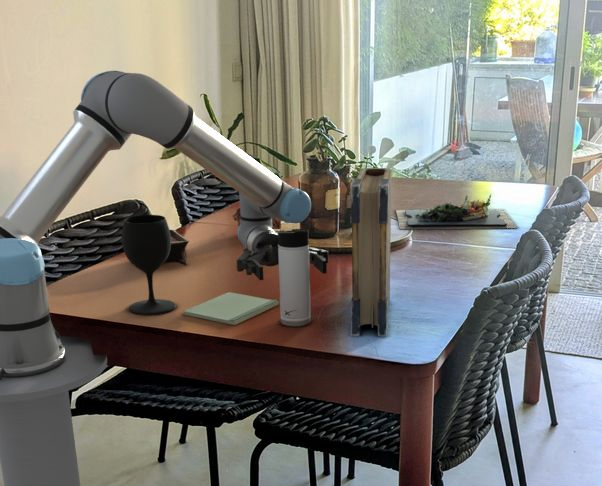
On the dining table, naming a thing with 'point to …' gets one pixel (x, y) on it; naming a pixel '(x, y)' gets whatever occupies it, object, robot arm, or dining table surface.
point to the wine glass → (147, 256)
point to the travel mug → (294, 277)
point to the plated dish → (455, 217)
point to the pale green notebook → (231, 308)
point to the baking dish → (177, 248)
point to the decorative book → (370, 249)
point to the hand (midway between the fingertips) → (293, 270)
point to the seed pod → (275, 222)
